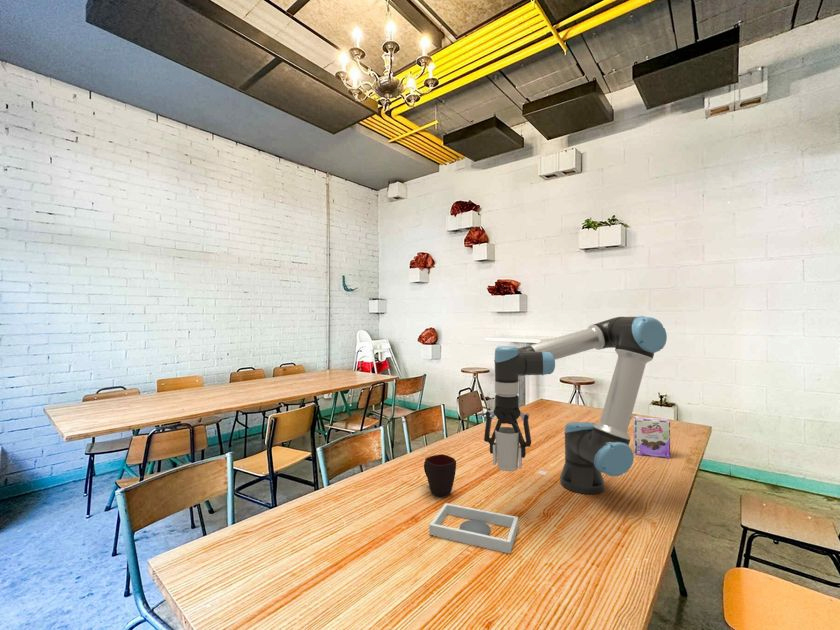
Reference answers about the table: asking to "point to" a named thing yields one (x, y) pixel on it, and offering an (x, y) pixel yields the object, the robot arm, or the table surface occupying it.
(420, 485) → the table surface
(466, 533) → the open rectangular frame
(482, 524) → the pad
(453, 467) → the mug
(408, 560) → the table surface
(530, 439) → the robot arm
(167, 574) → the table surface
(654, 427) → the candy box
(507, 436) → the cup
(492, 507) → the table surface
